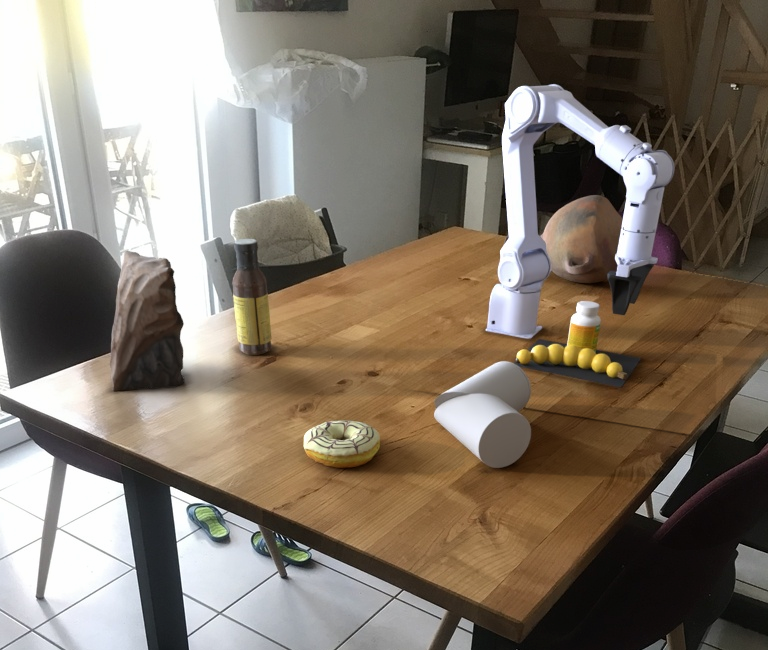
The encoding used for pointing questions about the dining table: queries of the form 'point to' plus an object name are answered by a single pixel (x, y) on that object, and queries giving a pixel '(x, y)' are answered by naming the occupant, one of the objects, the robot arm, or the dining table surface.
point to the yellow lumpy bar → (571, 358)
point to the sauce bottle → (251, 300)
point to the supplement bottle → (585, 326)
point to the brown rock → (146, 326)
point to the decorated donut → (342, 443)
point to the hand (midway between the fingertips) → (624, 308)
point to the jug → (583, 239)
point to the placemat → (584, 374)
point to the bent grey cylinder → (489, 413)
